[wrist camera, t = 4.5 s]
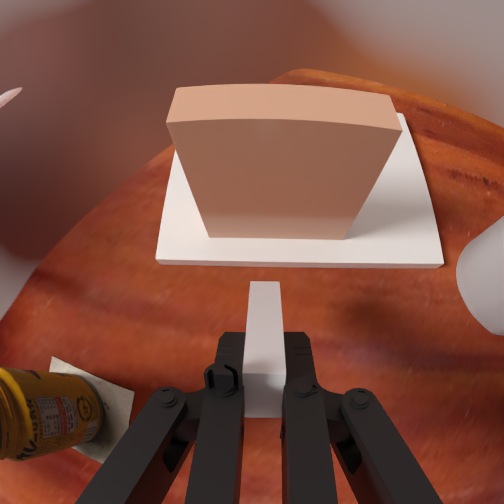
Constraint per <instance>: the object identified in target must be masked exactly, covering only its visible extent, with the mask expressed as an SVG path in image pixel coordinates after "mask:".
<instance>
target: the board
mask: <svg viewBox="0 0 504 504" xmlns="http://www.w3.org/2000/svg"><path fill="white" fill-rule="evenodd" d="M396 114H397V116H398V119H399V122H400V124H401V127H402V130H403V131H402V133H401V135H400V137H399V139H398V141H397V143H396V145H395V147H394V149H393V151H392V153H391V155H390V157H389V159H388V161H387V162H386V164H385V166H384V168H383V170H382V172H381V174H380V176H379V177H378V179H377V181H376V183H375V185H374V186H373V188H372V190H371V192H370V194H369V195H368V197H367V199H366V201H365V203H364V204H363V206H362V208H361V210H360V211H359V213H358V215H357V217H356V218H355V220H354V222H353V223H352V225H351V227H350V229H349V230H348V232H347V234H346V235H345V237H344V239H343V240H316V239H267V238H209V236H208V234H207V231H206V228H205V226H204V223H203V221H202V218H201V216H200V213H199V210H198V208H197V205H196V203H195V200H194V197H193V195H192V192H191V189H190V187H189V184H188V182H187V179H186V176H185V174H184V171H183V168H182V165H181V163H180V160H179V157H178V155H177V152H176V150H175V154H174V159H173V163H172V168H171V173H170V178H169V183H168V188H167V193H166V198H165V204H164V209H163V215H162V221H161V227H160V233H159V239H158V246H157V252H156V260H157V261H158V262H159V263H160V264H166V265H202V266H245V267H303V268H438V267H440V266H441V265H443V264H444V260H443V254H442V249H441V244H440V238H439V233H438V229H437V224H436V220H435V215H434V211H433V207H432V203H431V199H430V195H429V191H428V188H427V184H426V181H425V177H424V174H423V171H422V167H421V164H420V161H419V158H418V155H417V152H416V149H415V146H414V143H413V140H412V137H411V134H410V132H409V129H408V126H407V124H406V121H405V118H404V116H403V114H401V113H396Z"/></svg>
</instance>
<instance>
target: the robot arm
mask: <svg viewBox="0 0 504 504" xmlns="http://www.w3.org/2000/svg"><path fill="white" fill-rule="evenodd" d="M204 379H205V385H206V387H205V388H203V389H201V390H199V391H196V392H191V393H185V394H183V392H182V391H181V390H179V389H177V388H175V387H163V388H160V389H158V390H156V391H155V392H154V393H153V394H152V395H151V396H150V398H149V399H148V401H147V402H146V403H145V405H144V406H143V408H142V409H141V411H140V412H139V413H138V415H137V416H136V418H135V419H134V420H133V422H132V423H131V425H130V426H129V428H128V429H127V430H126V432H125V433H124V435H123V436H122V437H121V439H120V440H119V442H118V443H117V445H116V446H115V447H114V449H113V450H112V452H111V453H110V454H109V456H108V457H107V459H106V460H105V461H104V463H103V464H102V466H101V467H100V469H99V470H98V471H97V473H96V474H95V476H94V477H93V478H92V480H91V481H90V483H89V484H88V486H87V487H86V488H85V490H84V491H83V493H82V494H81V495H80V497H79V498H78V500H77V501H76V503H75V504H161V503H162V502H163V500H164V498H165V496H166V494H167V492H168V491H169V489H170V487H171V485H172V483H173V481H174V480H175V478H176V476H177V474H178V472H179V470H180V468H181V466H182V465H183V463H184V461H185V459H186V457H187V455H188V453H189V451H190V449H191V447H192V446H193V444H194V442H195V441H196V443H195V449H194V454H193V459H192V465H191V470H190V476H189V481H188V487H187V492H186V498H185V504H239V499H240V484H241V470H242V455H243V441H244V417H251V418H282V426H281V434H280V438H281V446H282V504H338V500H337V492H336V484H335V476H334V468H333V461H332V453H331V446H332V448H333V450H334V452H335V454H336V456H337V459H338V461H339V463H340V465H341V467H342V469H343V472H344V474H345V476H346V478H347V480H348V482H349V484H350V487H351V489H352V491H353V493H354V495H355V497H356V499H357V501H358V504H443V503H442V501H441V499H440V498H439V496H438V494H437V493H436V491H435V490H434V488H433V486H432V485H431V483H430V481H429V480H428V478H427V477H426V475H425V473H424V472H423V470H422V468H421V467H420V465H419V464H418V462H417V460H416V459H415V457H414V456H413V454H412V453H411V451H410V449H409V448H408V446H407V445H406V443H405V441H404V440H403V438H402V437H401V435H400V434H399V432H398V430H397V429H396V427H395V426H394V424H393V423H392V421H391V420H390V418H389V416H388V415H387V413H386V412H385V410H384V409H383V407H382V406H381V404H380V403H379V401H378V400H377V398H376V396H375V395H374V394H373V393H372V392H370V391H368V390H366V389H362V388H354V389H351V390H349V391H347V392H346V393H345V394H344V395H342V394H337V393H333V392H329V391H327V390H325V389H323V388H322V387H321V386H320V385H319V383H318V382H317V379H316V373H315V367H314V361H313V356H312V350H311V344H310V339H309V338H308V336H307V335H306V334H305V333H304V332H283V321H282V308H281V296H280V283H279V282H261V281H250V293H249V304H248V315H247V326H246V332H225V333H224V334H223V335H222V336H221V337H220V339H219V343H218V349H217V353H216V358H215V363H214V364H212V365H210V366H209V367H208V368H206V370H205V372H204ZM330 443H331V446H330Z"/></svg>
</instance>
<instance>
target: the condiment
mask: <svg viewBox="0 0 504 504" xmlns="http://www.w3.org/2000/svg"><path fill="white" fill-rule="evenodd" d="M134 393H135V392H133V391H131V390H128V389H125V388H122V387H120V386H117V385H115V384H112V383H110V382H107V381H105V380H102V379H100V378H98V377H96V376H93V375H91V374H89V373H87V372H85V371H83V370H80V369H78V368H76V367H74V366H72V365H70V364H68V363H65V362H63V361H61V360H59V359H57V358H55V357H53V356H52V361H51V365H50V371H49V372H44V371H32V370H21V369H14V368H5V367H0V460H4V459H5V458H7V459H9V460H11V461H24V460H28V459H32V458H35V457H39V456H43V455H47V454H50V453H54V452H57V451H60V450H64V449H67V448H70V447H72V448H74V449H75V450H77V451H79V452H81V453H82V454H84V455H86V456H88V457H90V458H92V459H94V460H96V461H98V462H100V463H102V464H103V463H104V461H105V460H106V459H107V457H108V456H109V454H110V453H111V452H112V450H113V449H114V447H115V446H116V445H117V443H118V442H119V440H120V439H121V437H122V436H123V435H124V433H125V432H126V430H127V429H128V427H129V418H130V413H131V409H132V403H133V398H134ZM104 402H105V403H106V405H104ZM107 406H108V407H109V410H108V409H107ZM90 443H91V444H90Z"/></svg>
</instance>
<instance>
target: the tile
mask: <svg viewBox="0 0 504 504" xmlns="http://www.w3.org/2000/svg"><path fill="white" fill-rule="evenodd" d="M166 124H167V127H168V129H169V132H170V135H171V138H172V141H173V144H174V146H175V149H176V152H177V155H178V157H179V160H180V163H181V165H182V168H183V171H184V174H185V176H186V179H187V182H188V184H189V187H190V189H191V192H192V195H193V197H194V200H195V203H196V205H197V208H198V210H199V213H200V216H201V218H202V221H203V223H204V226H205V228H206V231H207V234H208V236H209V238H267V239H316V240H343V239H344V237H345V235H346V234H347V232H348V230H349V229H350V227H351V225H352V223H353V222H354V220H355V218H356V217H357V215H358V213H359V211H360V210H361V208H362V206H363V204H364V203H365V201H366V199H367V197H368V195H369V194H370V192H371V190H372V188H373V186H374V185H375V183H376V181H377V179H378V177H379V176H380V174H381V172H382V170H383V168H384V166H385V164H386V162H387V161H388V159H389V157H390V155H391V153H392V151H393V149H394V147H395V145H396V143H397V141H398V139H399V137H400V135H401V133H402V131H403V130H402V127H401V124H400V122H399V119H398V116H397V114H396V111H395V108H394V106H393V103H392V101H391V99H390V96H389V95H383V94H377V93H371V92H364V91H356V90H348V89H340V88H330V87H318V86H304V85H284V84H229V85H208V86H195V87H182V88H177V89H176V92H175V95H174V98H173V101H172V105H171V108H170V111H169V114H168V118H167V121H166Z"/></svg>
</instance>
